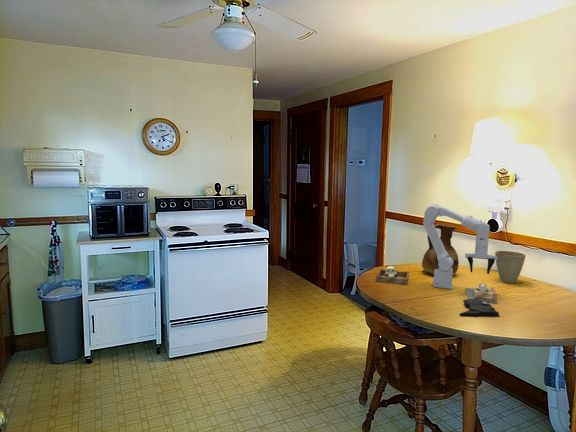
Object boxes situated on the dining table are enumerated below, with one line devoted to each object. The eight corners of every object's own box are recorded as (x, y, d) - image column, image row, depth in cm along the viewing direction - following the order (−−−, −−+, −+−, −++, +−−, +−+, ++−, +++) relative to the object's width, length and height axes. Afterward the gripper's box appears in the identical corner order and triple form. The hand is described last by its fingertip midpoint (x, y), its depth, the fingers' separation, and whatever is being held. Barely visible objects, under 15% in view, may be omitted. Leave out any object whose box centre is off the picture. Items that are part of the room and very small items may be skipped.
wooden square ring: (474, 297, 191) (474, 291, 190) (472, 292, 198) (472, 287, 198) (492, 299, 188) (493, 293, 188) (490, 294, 196) (490, 288, 195)
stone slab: (452, 304, 192) (452, 294, 192) (489, 308, 188) (490, 298, 188) (459, 317, 170) (460, 305, 170) (501, 322, 166) (502, 311, 166)
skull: (403, 282, 216) (391, 267, 216) (388, 293, 219) (376, 278, 220) (403, 275, 227) (391, 261, 228) (389, 286, 230) (377, 272, 231)
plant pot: (528, 282, 222) (530, 254, 220) (514, 286, 214) (517, 257, 212) (501, 276, 234) (503, 249, 232) (487, 280, 226) (489, 252, 224)
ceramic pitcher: (463, 278, 228) (466, 226, 224) (427, 278, 228) (430, 226, 224) (449, 269, 247) (453, 221, 243) (417, 269, 248) (419, 221, 244)
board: (468, 300, 191) (469, 291, 190) (465, 289, 208) (465, 281, 207) (496, 303, 187) (497, 294, 186) (490, 292, 204) (491, 283, 203)
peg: (479, 297, 192) (480, 285, 191) (477, 295, 195) (478, 283, 194) (487, 298, 191) (487, 285, 190) (485, 295, 194) (485, 283, 194)
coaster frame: (376, 281, 219) (376, 276, 219) (379, 274, 235) (379, 269, 234) (407, 285, 214) (407, 279, 214) (408, 277, 229) (408, 272, 229)
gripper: (466, 246, 200) (464, 273, 202) (498, 249, 196) (496, 276, 197) (465, 244, 207) (463, 269, 209) (496, 246, 202) (494, 272, 204)
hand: (479, 272), depth 203 cm, fingers open, 7 cm apart
